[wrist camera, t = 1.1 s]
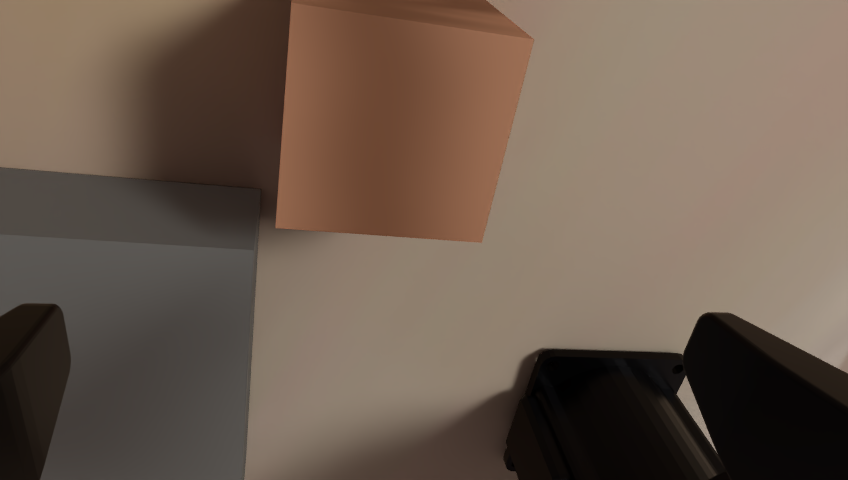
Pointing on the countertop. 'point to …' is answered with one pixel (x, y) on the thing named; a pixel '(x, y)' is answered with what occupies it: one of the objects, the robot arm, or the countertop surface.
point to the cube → (397, 116)
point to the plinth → (139, 318)
